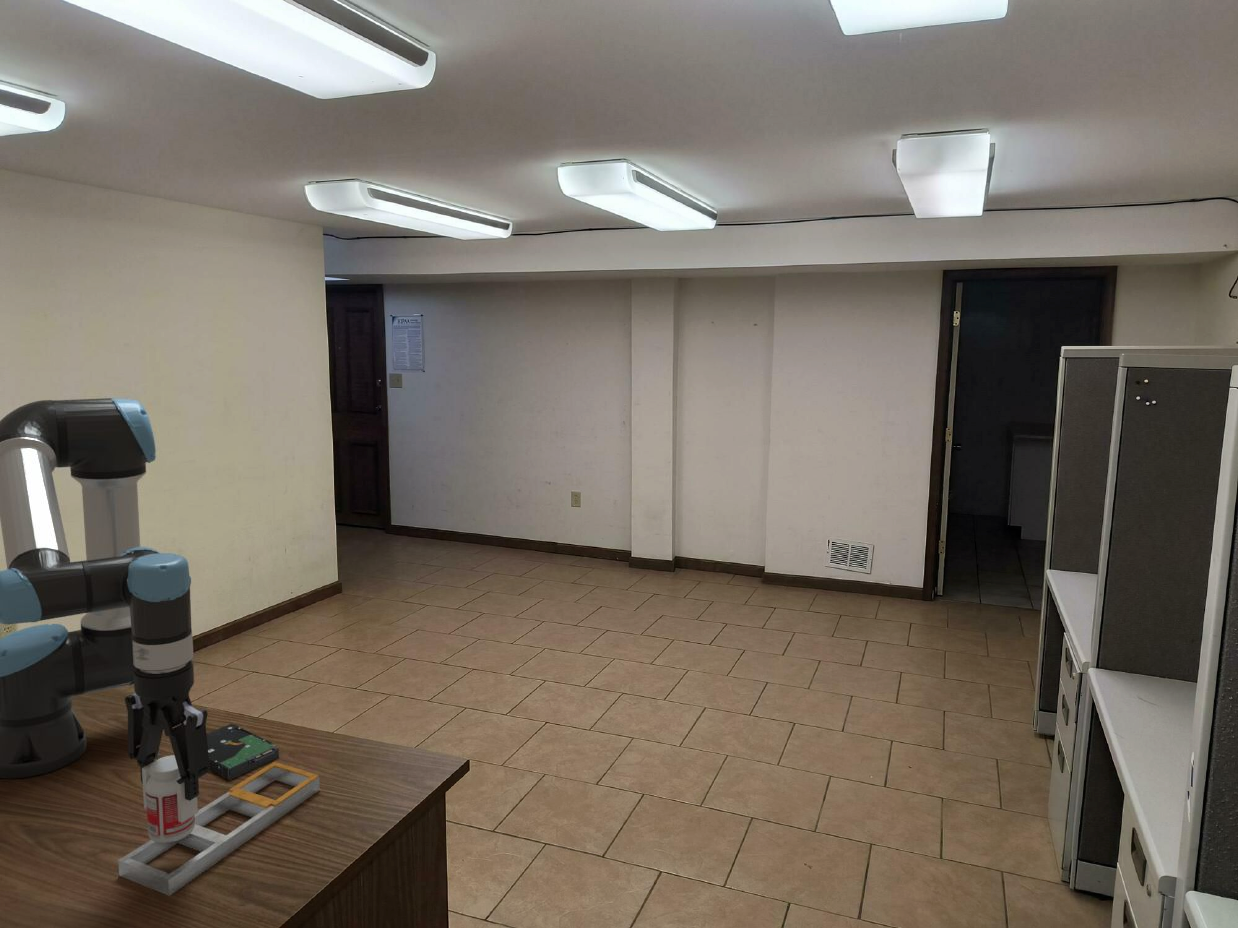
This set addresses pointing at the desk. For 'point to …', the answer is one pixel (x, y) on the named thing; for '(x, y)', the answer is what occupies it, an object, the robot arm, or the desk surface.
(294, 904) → the desk surface
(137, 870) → the socket rail
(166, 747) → the desk surface
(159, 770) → the pill bottle
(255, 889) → the desk surface
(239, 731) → the disk drive
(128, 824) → the desk surface
